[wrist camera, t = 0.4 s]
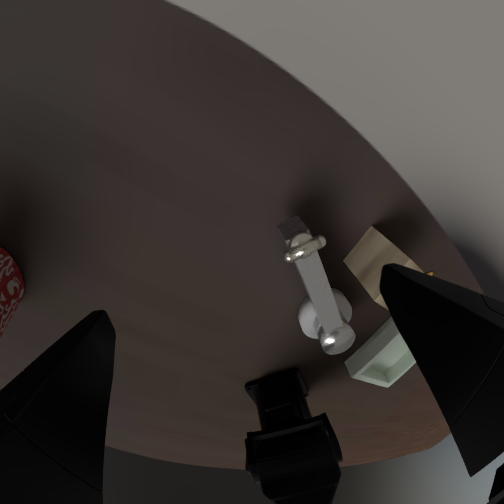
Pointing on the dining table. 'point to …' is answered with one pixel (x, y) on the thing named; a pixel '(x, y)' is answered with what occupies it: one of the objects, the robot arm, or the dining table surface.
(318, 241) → the crank
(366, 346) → the stop tray
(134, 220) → the dining table surface
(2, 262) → the mug
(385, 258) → the stop block
